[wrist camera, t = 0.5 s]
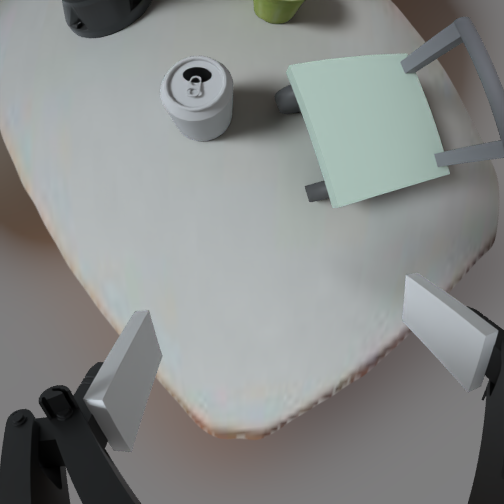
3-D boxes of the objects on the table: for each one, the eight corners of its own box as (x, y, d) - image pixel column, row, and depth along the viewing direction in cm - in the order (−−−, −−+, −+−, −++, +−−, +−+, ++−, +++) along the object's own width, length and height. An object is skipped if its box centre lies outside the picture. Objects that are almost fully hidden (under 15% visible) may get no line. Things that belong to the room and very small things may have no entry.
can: (236, 94, 37) (239, 53, 26) (227, 145, 38) (227, 120, 26) (181, 88, 37) (165, 47, 25) (171, 140, 38) (149, 113, 26)
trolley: (268, 97, 38) (310, -6, 15) (379, 78, 38) (473, 9, 16) (305, 209, 40) (395, 212, 17) (413, 177, 41) (533, 165, 18)
